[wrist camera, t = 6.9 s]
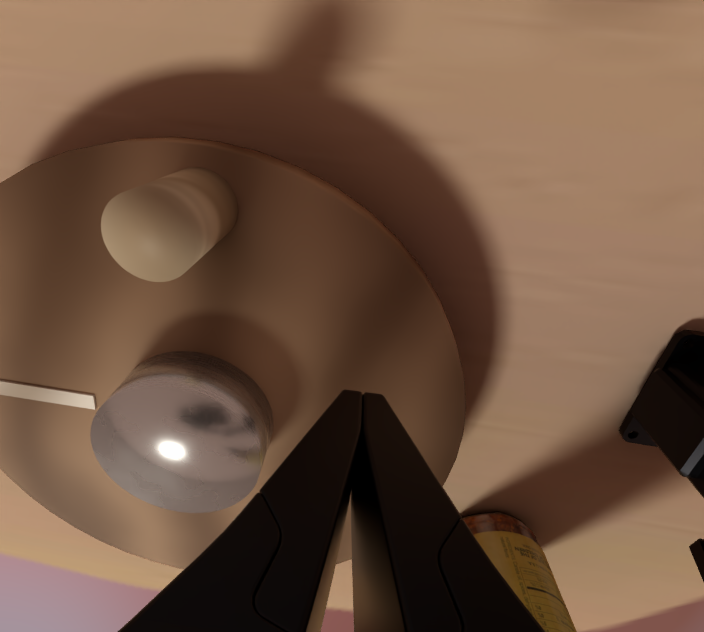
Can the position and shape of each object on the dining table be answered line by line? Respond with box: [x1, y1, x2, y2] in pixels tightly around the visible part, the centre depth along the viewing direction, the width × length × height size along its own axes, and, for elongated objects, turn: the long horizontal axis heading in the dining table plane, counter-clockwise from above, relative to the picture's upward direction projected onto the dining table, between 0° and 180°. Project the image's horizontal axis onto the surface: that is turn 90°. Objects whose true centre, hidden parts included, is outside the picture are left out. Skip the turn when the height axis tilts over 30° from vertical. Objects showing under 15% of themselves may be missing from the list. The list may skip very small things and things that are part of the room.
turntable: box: [0, 137, 466, 569], centre depth 19 cm, size 24×24×6 cm
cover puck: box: [90, 351, 274, 513], centre depth 19 cm, size 7×7×2 cm
